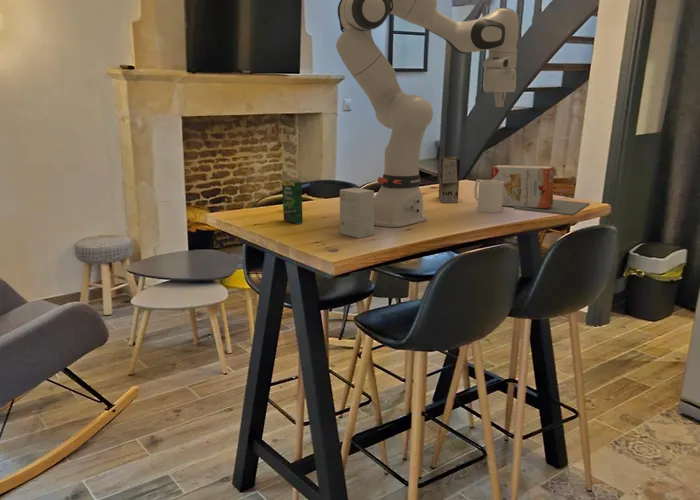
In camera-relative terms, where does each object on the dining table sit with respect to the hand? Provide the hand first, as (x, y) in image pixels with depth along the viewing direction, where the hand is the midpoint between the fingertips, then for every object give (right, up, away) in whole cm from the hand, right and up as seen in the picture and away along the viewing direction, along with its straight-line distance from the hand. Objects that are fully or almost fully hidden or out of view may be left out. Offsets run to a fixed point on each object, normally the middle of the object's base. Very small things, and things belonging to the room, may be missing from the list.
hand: (499, 106), depth 201 cm
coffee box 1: (-67, -38, -6) cm, 77 cm away
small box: (-47, -42, -23) cm, 67 cm away
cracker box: (+21, -25, +11) cm, 34 cm away
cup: (-1, -33, +14) cm, 36 cm away
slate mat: (+24, -31, +19) cm, 44 cm away
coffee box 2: (-12, -28, +30) cm, 43 cm away
